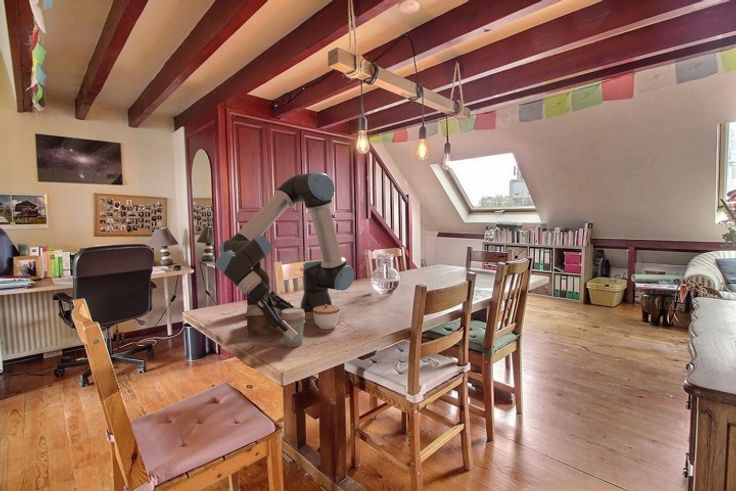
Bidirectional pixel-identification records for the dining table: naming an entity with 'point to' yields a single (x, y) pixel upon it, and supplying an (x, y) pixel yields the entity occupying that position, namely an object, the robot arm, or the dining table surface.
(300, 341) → the coffee cup
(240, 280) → the robot arm
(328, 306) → the lidded jar
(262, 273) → the olive oil
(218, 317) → the dining table surface
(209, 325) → the dining table surface
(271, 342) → the dining table surface
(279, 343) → the dining table surface
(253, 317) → the walnut stand
